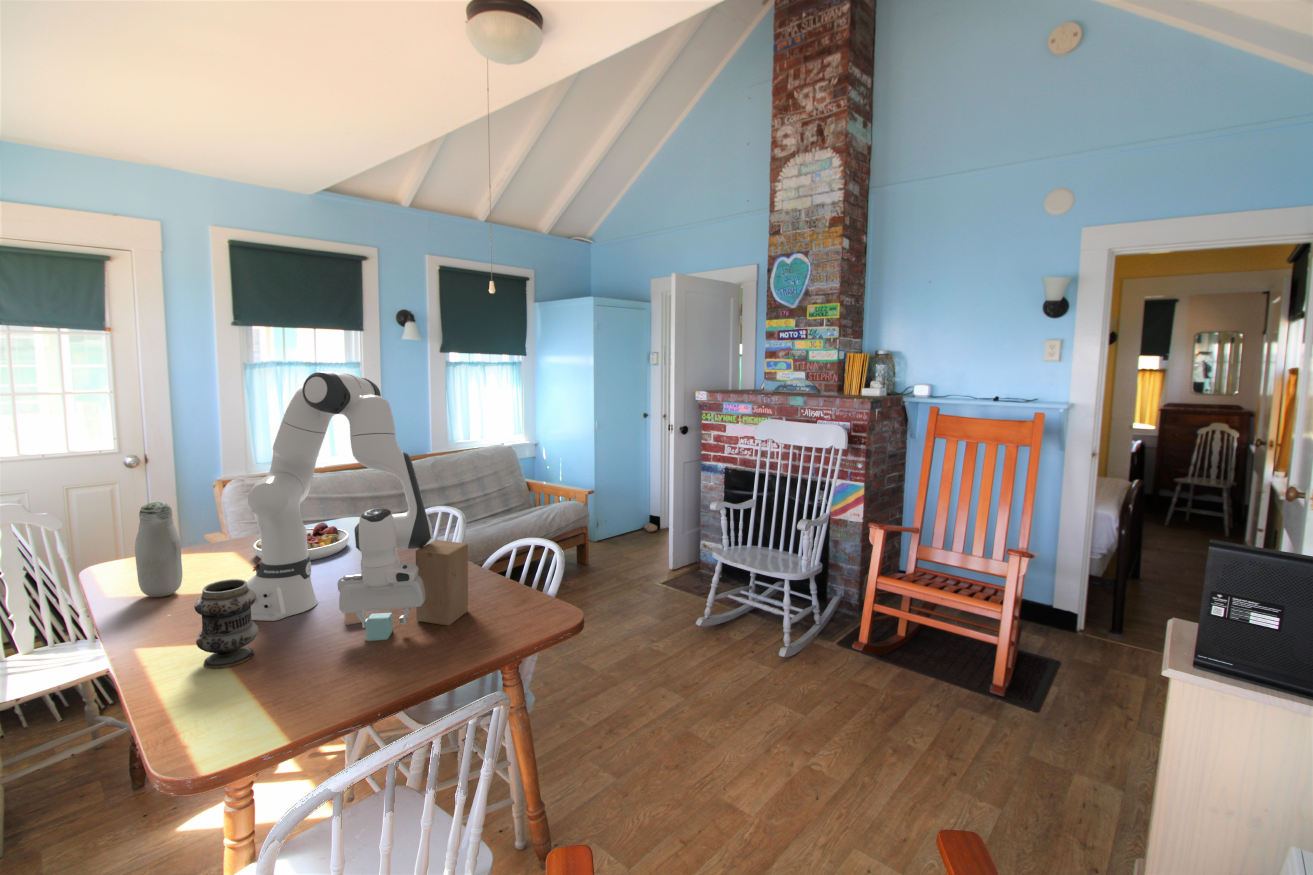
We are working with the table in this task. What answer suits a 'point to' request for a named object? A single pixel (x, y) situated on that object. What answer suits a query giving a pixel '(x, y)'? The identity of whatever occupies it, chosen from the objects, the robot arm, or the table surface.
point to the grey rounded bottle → (158, 551)
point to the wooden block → (443, 581)
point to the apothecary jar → (226, 622)
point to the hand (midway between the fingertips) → (385, 624)
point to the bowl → (319, 541)
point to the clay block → (352, 618)
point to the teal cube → (379, 626)
